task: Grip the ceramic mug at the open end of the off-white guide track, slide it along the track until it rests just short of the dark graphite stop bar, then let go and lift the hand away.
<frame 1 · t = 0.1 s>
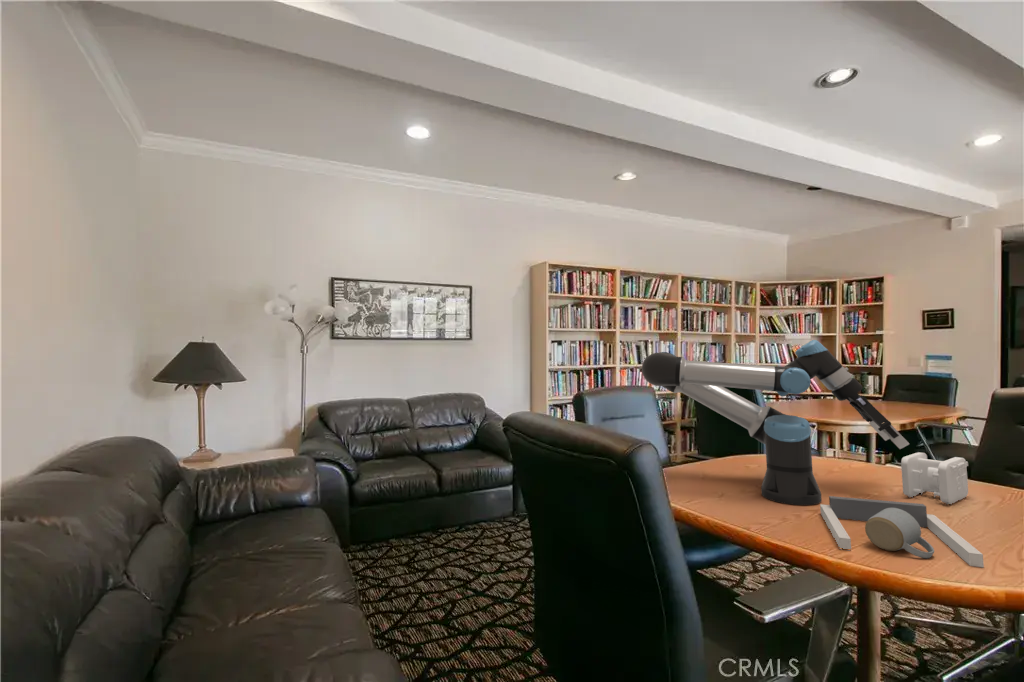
hand: (896, 442, 134), 15 cm above the table, tool tilted 35°, fingers open, 13 cm apart
guide track: (889, 536, 104), on the table
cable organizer: (936, 498, 129), on the table
ceramic mug: (900, 550, 97), on the table
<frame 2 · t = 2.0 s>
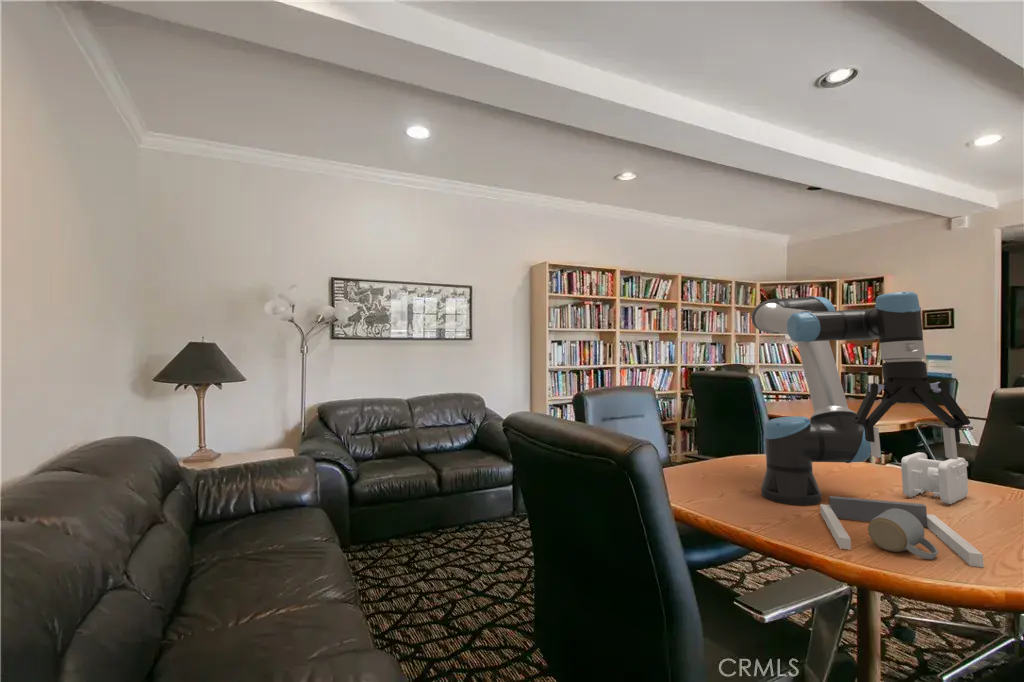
hand: (913, 457, 99), 19 cm above the table, tool pointing down, fingers open, 13 cm apart
nothing on the table moved.
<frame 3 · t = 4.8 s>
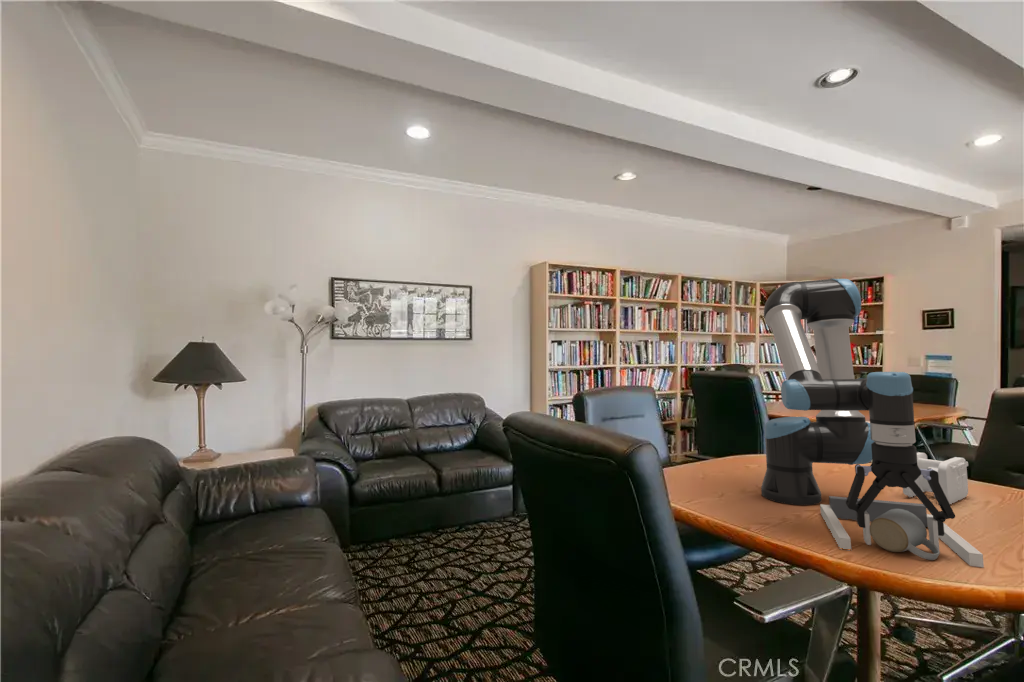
hand: (900, 546, 97), 0 cm above the table, tool pointing down, fingers closed on ceramic mug, 11 cm apart
ceramic mug: (905, 551, 96), on the table, touching gripper
everything else where it was.
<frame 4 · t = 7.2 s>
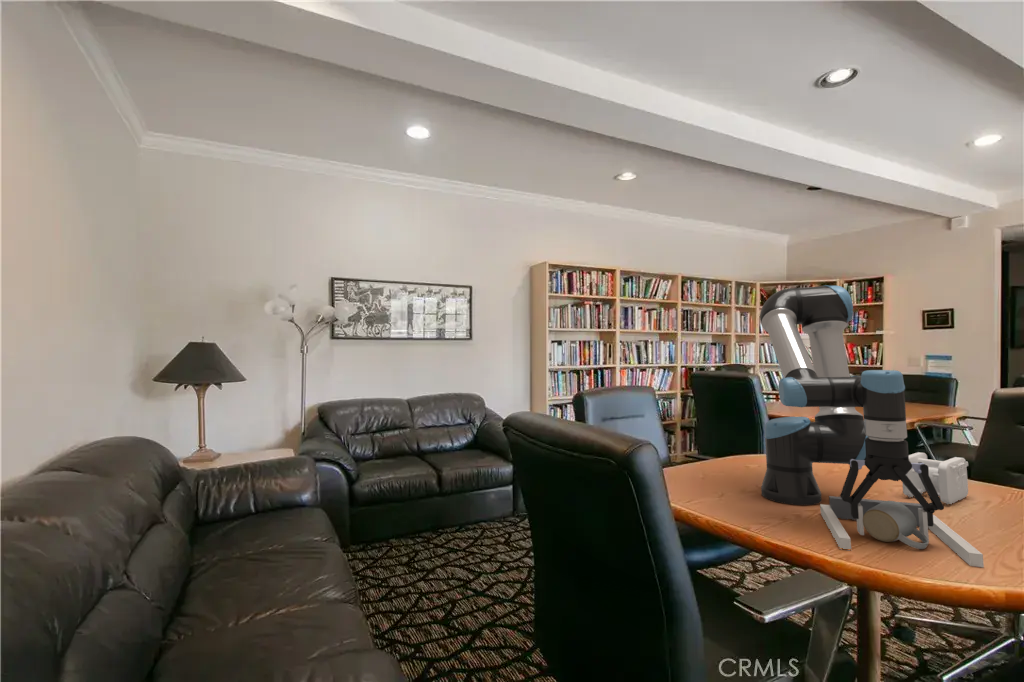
hand: (891, 536, 102), 1 cm above the table, tool pointing down, fingers closed on ceramic mug, 11 cm apart
ceramic mug: (897, 541, 101), on the table, touching gripper
everything else where it was.
when the fingers open (0 cm above the table, at t = 9.6 s): ceramic mug stays where it is, on the table.
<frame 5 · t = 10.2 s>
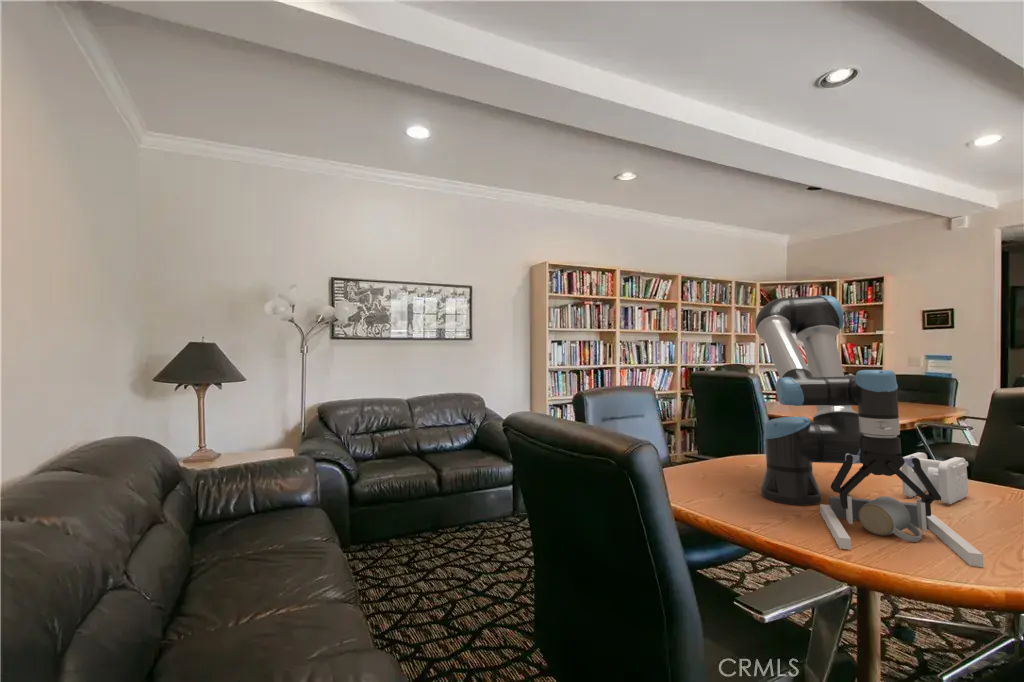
hand: (885, 525, 107), 1 cm above the table, tool pointing down, fingers open, 13 cm apart
ceramic mug: (891, 535, 105), on the table
everything else where it was.
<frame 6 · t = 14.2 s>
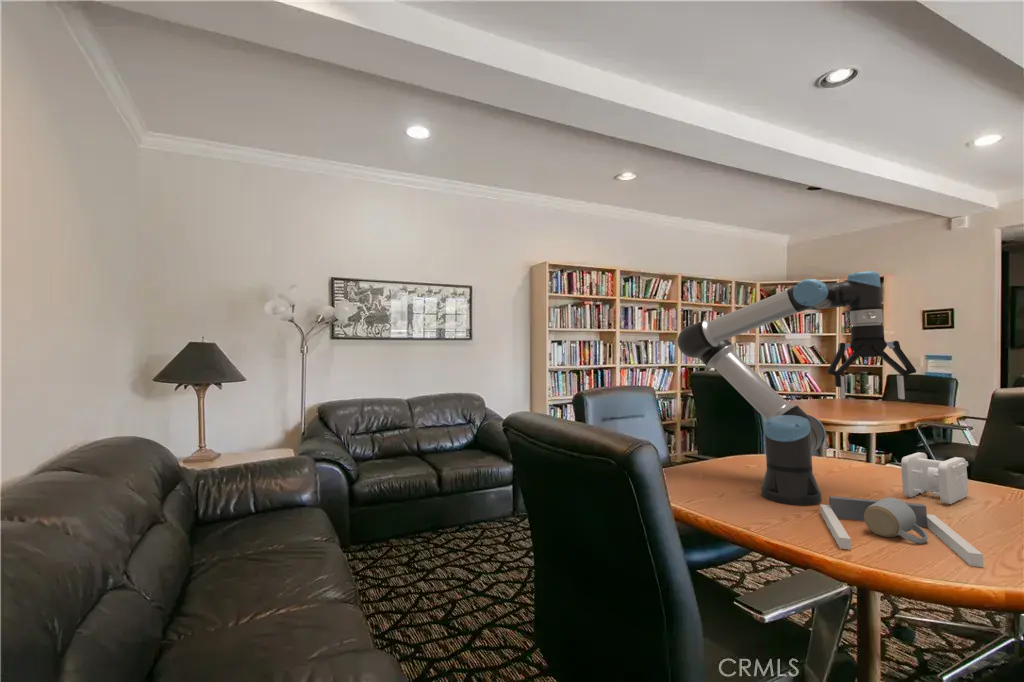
hand: (871, 398, 131), 29 cm above the table, tool pointing down, fingers open, 13 cm apart
ceramic mug: (897, 536, 104), on the table
everything else where it was.
at the end: ceramic mug 2.3 cm from the target spot, on the table; ceramic mug tilted 1°; the gripper is holding nothing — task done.
